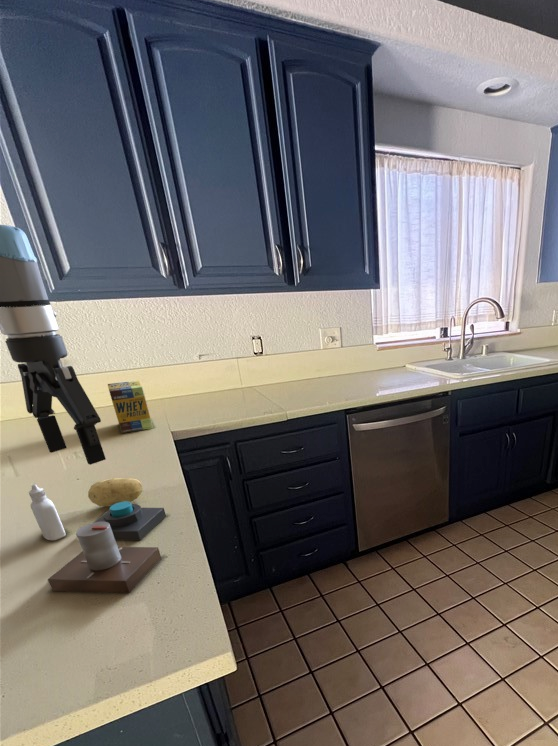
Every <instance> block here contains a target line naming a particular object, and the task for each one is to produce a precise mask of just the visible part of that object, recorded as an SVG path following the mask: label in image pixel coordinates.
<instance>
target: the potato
mask: <svg viewBox="0 0 558 746" xmlns="http://www.w3.org/2000/svg"><path fill="white" fill-rule="evenodd" d="M142 491H143V485H142V483H141V481H140V480H138V479H136V478H129V477H128V478H127V477H126V478H125V477H124V478H123V477H122V478H120V477H119V478H118V477H113V478H108V479H105V480H98V481H96V482H94V483H93V484H91V485H90V488H89V489H88V492H87V493H88V494H87V497H88V499H89V500H90V502H91V503H92V504H94V505H95V506H98V507H103V508H104V507H105V508H106V507H111V506H112V505H114V504H116V503H119V502H124V501H128V502H130V503H131V502H133V501H135V500H136V499H138V498H139V497H140V496H141V494H142Z"/></svg>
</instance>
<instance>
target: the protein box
mask: <svg viewBox="0 0 558 746" xmlns="http://www.w3.org/2000/svg"><path fill="white" fill-rule="evenodd" d="M107 387H108V392H109V396H110V399H111V402H112V406H113V409H114V413H115V416H116V419H117V422H118V425H119V429H120V432H121V434H127V433H132V432H138V431H143V430H150V429H154V425H153V422H152V418H151V415H150V414H151V413H150V411H149V410H150V409H149V407H148V403H147V399H146V396H145V395H146V394H145V392H144V389H143V386H142V384H141V383H140V381H139V380H132V381H130V380H129V381H121V382H112V383H107Z"/></svg>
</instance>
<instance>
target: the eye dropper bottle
mask: <svg viewBox="0 0 558 746" xmlns="http://www.w3.org/2000/svg"><path fill="white" fill-rule="evenodd" d="M30 486H31V489H30V490H29V491H28V495H29V497H30V500H31V503H30V509H31V512H32V513H33V516H34V518H35V520H36V523H37V525H38V527H39V529H40V532H41V534H42V536H43V538H44V539H46V540H48V541H57V540H60V539H62V538H64V537H66V531H65V527H64V525H63V523H62V521H61V518H60V515H59V514H58V511H57V509H56V506H55V503H54V502H53V501H52V500H51V499H50V498H48V497H47V494H46V491H45V489H44V488H42V487H38V485H37V484H36V483H31V485H30Z"/></svg>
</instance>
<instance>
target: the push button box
mask: <svg viewBox="0 0 558 746" xmlns="http://www.w3.org/2000/svg"><path fill="white" fill-rule="evenodd" d="M131 505H132V508H133V511H132V512H131V513H129V514H127V515H124V516H119V517H113V516H112V514H111V511H110V509H108V510H106V511H105V512H104V513H103V514H102V515H101V516H100V517H98V518H96V520H94V521H92V523H94V522H102V521H103V522H108V523H109V524H110V527H111V529H112V532H113V535H114V538H115V541H141V540H142V539H144V538H145V537H146V536H147V535H148V534H149V533H150V532H151V531H152V530H153V529H154V528H156V527H157V525H159V523H161V522H162V521H163V520H164V519H165V518H166V517H167V515H166V511H165V510H166V509H165V508H164V507H142V506H141V505H140V504H138V503H131Z"/></svg>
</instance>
